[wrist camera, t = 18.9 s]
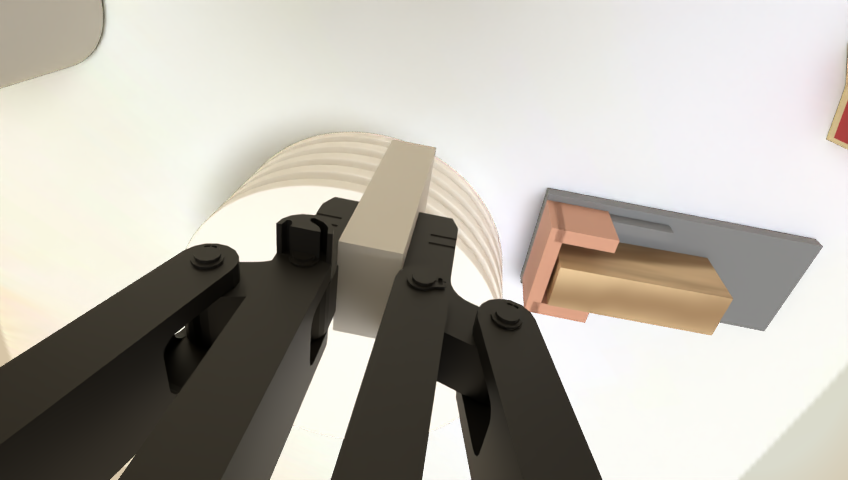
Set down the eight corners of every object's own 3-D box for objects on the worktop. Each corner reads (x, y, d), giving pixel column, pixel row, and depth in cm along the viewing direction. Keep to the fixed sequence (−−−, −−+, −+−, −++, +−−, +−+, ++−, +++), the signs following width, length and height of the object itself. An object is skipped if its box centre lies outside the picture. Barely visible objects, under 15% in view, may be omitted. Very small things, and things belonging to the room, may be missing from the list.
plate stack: (522, 147, 44) (528, 208, 34) (485, 373, 59) (481, 460, 49) (217, 117, 46) (141, 166, 36) (255, 341, 61) (208, 418, 51)
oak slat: (553, 230, 46) (560, 267, 41) (707, 258, 45) (733, 299, 40) (542, 265, 48) (547, 304, 43) (689, 292, 47) (711, 335, 42)
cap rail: (547, 187, 45) (553, 221, 40) (815, 239, 44) (857, 280, 39) (520, 275, 50) (522, 315, 45) (758, 323, 50) (788, 369, 44)
